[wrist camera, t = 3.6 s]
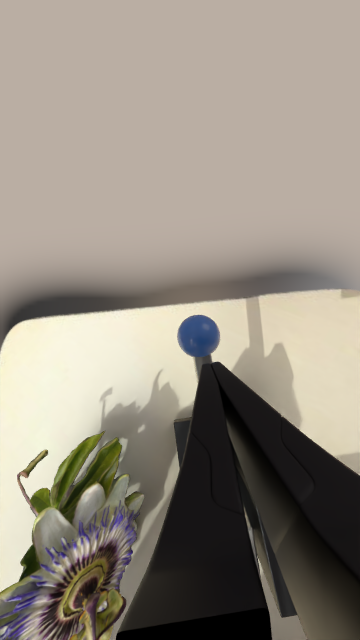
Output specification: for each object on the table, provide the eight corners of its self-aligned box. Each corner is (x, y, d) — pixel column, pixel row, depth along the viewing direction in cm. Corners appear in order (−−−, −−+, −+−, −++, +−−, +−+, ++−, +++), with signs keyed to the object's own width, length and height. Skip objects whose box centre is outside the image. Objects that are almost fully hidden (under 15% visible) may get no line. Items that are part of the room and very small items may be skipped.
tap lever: (174, 319, 13) (173, 317, 10) (211, 313, 13) (220, 309, 10) (209, 532, 12) (218, 594, 9) (248, 525, 12) (268, 585, 9)
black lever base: (174, 419, 20) (162, 461, 11) (233, 410, 20) (274, 442, 11) (189, 532, 17) (191, 731, 8) (259, 521, 17) (347, 703, 8)
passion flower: (142, 486, 22) (112, 716, 11) (55, 480, 21) (-77, 727, 10) (155, 422, 19) (130, 661, 8) (52, 411, 18) (-156, 668, 7)
